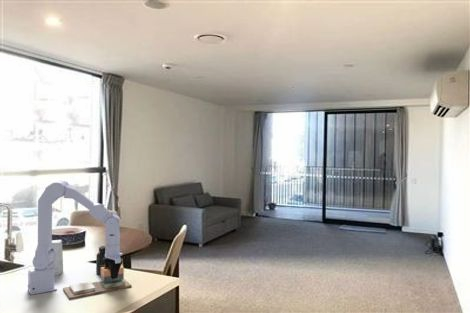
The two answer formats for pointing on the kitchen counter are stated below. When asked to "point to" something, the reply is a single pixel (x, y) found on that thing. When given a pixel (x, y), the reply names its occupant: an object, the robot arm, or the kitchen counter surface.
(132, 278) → the kitchen counter surface
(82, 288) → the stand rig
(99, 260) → the supplement bottle
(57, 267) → the skincare box
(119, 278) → the plate
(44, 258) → the robot arm
